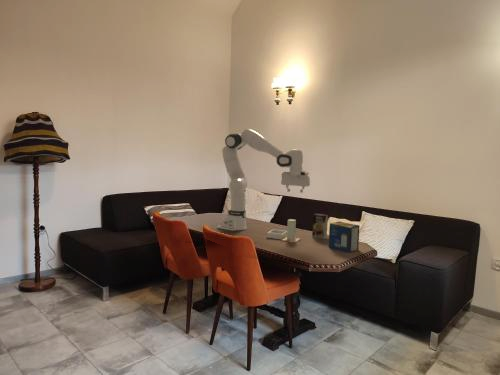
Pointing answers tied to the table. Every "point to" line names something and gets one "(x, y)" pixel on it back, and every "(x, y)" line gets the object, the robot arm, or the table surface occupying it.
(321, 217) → the coffee box
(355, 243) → the protein box
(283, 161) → the robot arm
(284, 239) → the pad
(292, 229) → the green block
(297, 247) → the table surface
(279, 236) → the bin
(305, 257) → the table surface
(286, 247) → the table surface
